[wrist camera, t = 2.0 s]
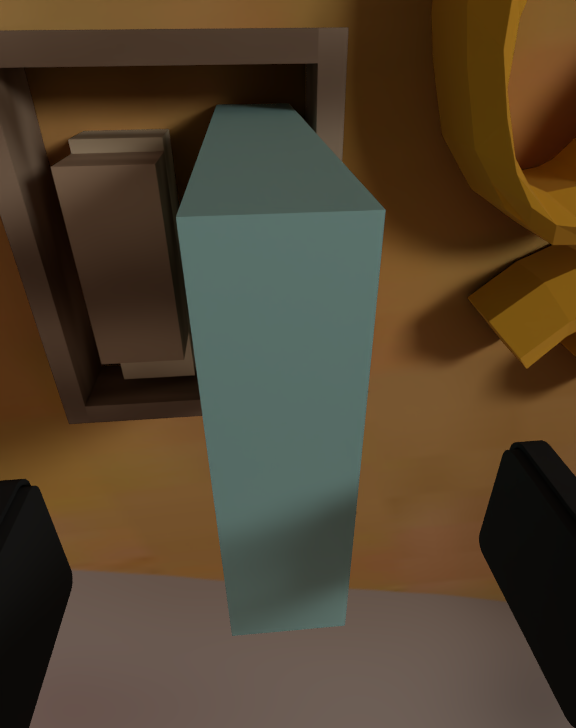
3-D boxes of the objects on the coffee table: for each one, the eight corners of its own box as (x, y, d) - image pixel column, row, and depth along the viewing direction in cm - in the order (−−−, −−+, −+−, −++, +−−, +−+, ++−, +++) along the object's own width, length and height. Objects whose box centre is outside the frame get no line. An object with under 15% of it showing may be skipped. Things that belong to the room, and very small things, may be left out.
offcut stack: (85, 130, 21) (46, 151, 16) (169, 128, 21) (152, 148, 17) (133, 353, 26) (113, 410, 22) (198, 349, 27) (190, 405, 23)
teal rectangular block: (216, 104, 20) (175, 217, 7) (288, 103, 20) (385, 209, 7) (234, 335, 26) (232, 635, 13) (290, 332, 26) (344, 625, 13)
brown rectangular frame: (-13, 33, 18) (-61, 31, 15) (331, 30, 19) (348, 27, 16) (87, 383, 27) (69, 424, 24) (320, 369, 28) (330, 407, 25)
